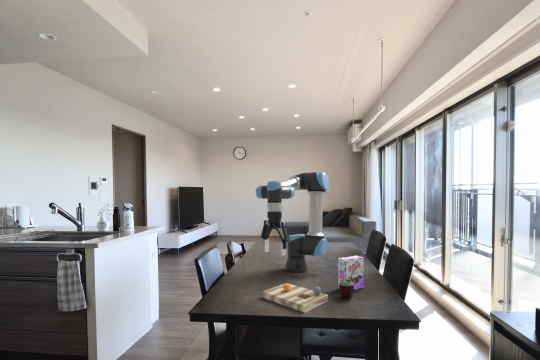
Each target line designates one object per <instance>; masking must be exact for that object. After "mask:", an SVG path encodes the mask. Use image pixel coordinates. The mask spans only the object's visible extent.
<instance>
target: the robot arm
mask: <svg viewBox="0 0 540 360" xmlns="http://www.w3.org/2000/svg"><path fill="white" fill-rule="evenodd" d="M329 187H330V181H329V176H328V175H327V174H326V172H323V171H322V172H321V171H314V172H312V171H311V172H302V173H298V174H296V175H292V176H289V178H288V179H287V178H286V179H284V180H279V181H278V180H274V181H273V180H270V181H268V182H267V183H266V185H258V186H257V187H256V188H255V196H256V197H257V198H258V199H262V200H267V204H266V205H267V207H266V208H267V210H268V211H267V212H266V213H267V214H266V215H267V219H265V220H263V225H262V231H261V233H260V238H261V239H263V246H264V253H269V252H270V239H269V237H270V235H271V233H272V231H273V230H276V231H277V233H278V236H279V238H280V240H281V242H280V256H286V254H287V259H286V263H285V266H284V270H285V271H286V272H290V273H304V272H307V271H308V270H309V266H308V263H307V260H306V256H310V257H317V258H323V256H325V255H326V252H327V251H328V244H329V243H328V242H329V241H328V239H327V238H325V234H324V233H323V212H324V211H323V210H324V209H323V207H324V206H323V205H324V195H326V192H327V191H328V190H329ZM295 191H307V193H308V194H309V207H308V209H309V211H308V213H309V214H308V232H307V233H306V234H305V233H296V234H290V235H289V232H288V227H287V221H282V218H283V212H282V210H283V206H282V205H283V204H282V203H283V202H282V201H283V200H290V199H292V198H294V196H295V195H296V194H295Z"/></svg>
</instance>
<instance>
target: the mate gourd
mask: <svg viewBox="0 0 540 360" xmlns="http://www.w3.org/2000/svg"><path fill="white" fill-rule="evenodd" d="M356 269H357V268H356ZM356 269H354V270H353V271H352V274H351V277H352V275H353V273H354V271H355V270H356ZM351 277H350V279H349V280H348V279H343V280H341V281H340V283H339V292H340V298H341V299H348V300H349V301H350V300H352V298H351V297H353V293H354V291H355V290H354V285H353V282H352V281H351Z"/></svg>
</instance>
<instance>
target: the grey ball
mask: <svg viewBox="0 0 540 360" xmlns="http://www.w3.org/2000/svg"><path fill="white" fill-rule="evenodd" d="M312 290H313V291H314V293H315V294H316V295H319V294H320V293H322V288H320V286H314V288H313V289H312Z"/></svg>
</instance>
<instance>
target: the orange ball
mask: <svg viewBox="0 0 540 360" xmlns="http://www.w3.org/2000/svg"><path fill="white" fill-rule="evenodd" d="M283 284H284V285H283V289H284V290H285V291H289V290H290V285H289V284H290V283H288V282H286V283H283Z"/></svg>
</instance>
